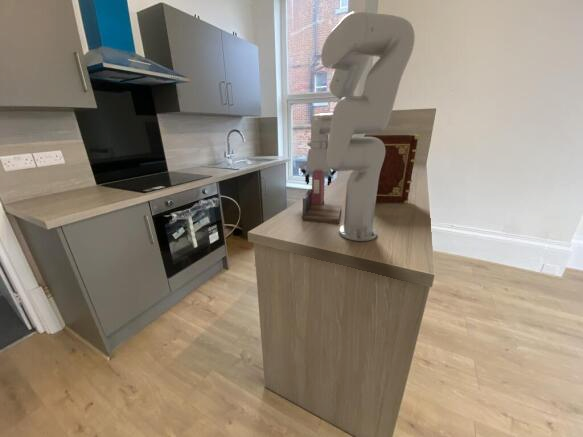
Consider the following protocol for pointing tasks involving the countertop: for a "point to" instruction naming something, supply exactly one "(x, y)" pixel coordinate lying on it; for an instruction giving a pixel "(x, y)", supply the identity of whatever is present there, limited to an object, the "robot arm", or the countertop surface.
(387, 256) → the countertop surface
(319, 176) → the slim book
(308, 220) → the shelf board
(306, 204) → the bookend
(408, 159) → the decorative book
